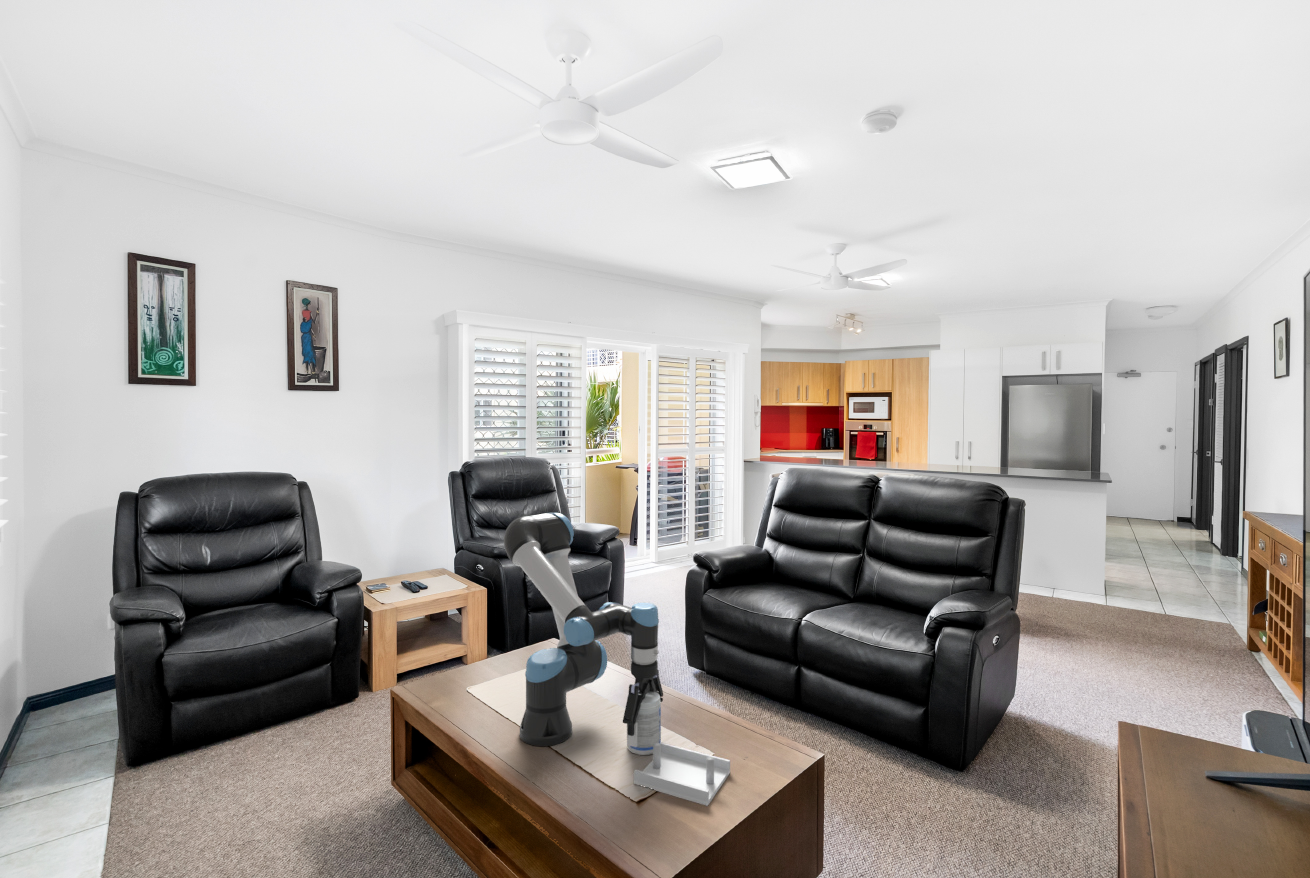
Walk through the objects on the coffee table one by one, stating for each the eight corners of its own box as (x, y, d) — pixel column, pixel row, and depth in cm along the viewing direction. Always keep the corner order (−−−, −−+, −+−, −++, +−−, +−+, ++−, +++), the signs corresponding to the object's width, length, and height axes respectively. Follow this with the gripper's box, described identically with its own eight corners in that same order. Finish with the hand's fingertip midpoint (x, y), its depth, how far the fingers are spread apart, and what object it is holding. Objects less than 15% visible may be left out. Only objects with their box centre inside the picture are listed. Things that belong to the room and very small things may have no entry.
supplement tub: (667, 750, 180) (667, 698, 179) (638, 760, 175) (638, 707, 174) (648, 735, 188) (648, 686, 187) (620, 744, 183) (620, 693, 182)
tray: (633, 784, 163) (634, 757, 163) (661, 754, 178) (661, 729, 177) (707, 805, 154) (707, 777, 154) (730, 772, 169) (730, 746, 169)
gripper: (635, 678, 167) (634, 758, 168) (675, 647, 190) (674, 718, 191) (610, 673, 171) (609, 751, 171) (652, 643, 193) (651, 713, 194)
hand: (643, 734), depth 181 cm, fingers open, 13 cm apart
